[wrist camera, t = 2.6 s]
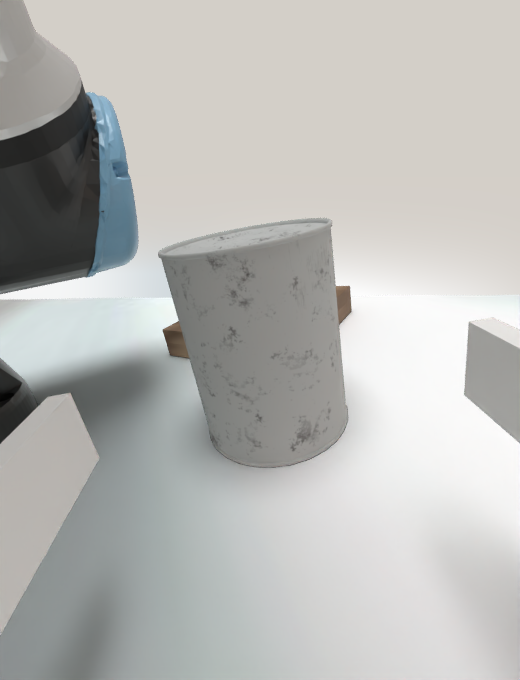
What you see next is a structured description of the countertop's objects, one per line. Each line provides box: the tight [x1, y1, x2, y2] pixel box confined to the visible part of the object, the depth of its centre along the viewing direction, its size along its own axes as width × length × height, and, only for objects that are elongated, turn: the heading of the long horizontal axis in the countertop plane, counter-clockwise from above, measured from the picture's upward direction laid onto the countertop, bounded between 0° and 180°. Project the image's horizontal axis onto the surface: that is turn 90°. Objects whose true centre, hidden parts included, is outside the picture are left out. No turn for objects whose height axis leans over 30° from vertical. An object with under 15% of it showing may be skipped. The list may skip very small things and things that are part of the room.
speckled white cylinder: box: [158, 218, 348, 467], centre depth 21 cm, size 10×10×12 cm
